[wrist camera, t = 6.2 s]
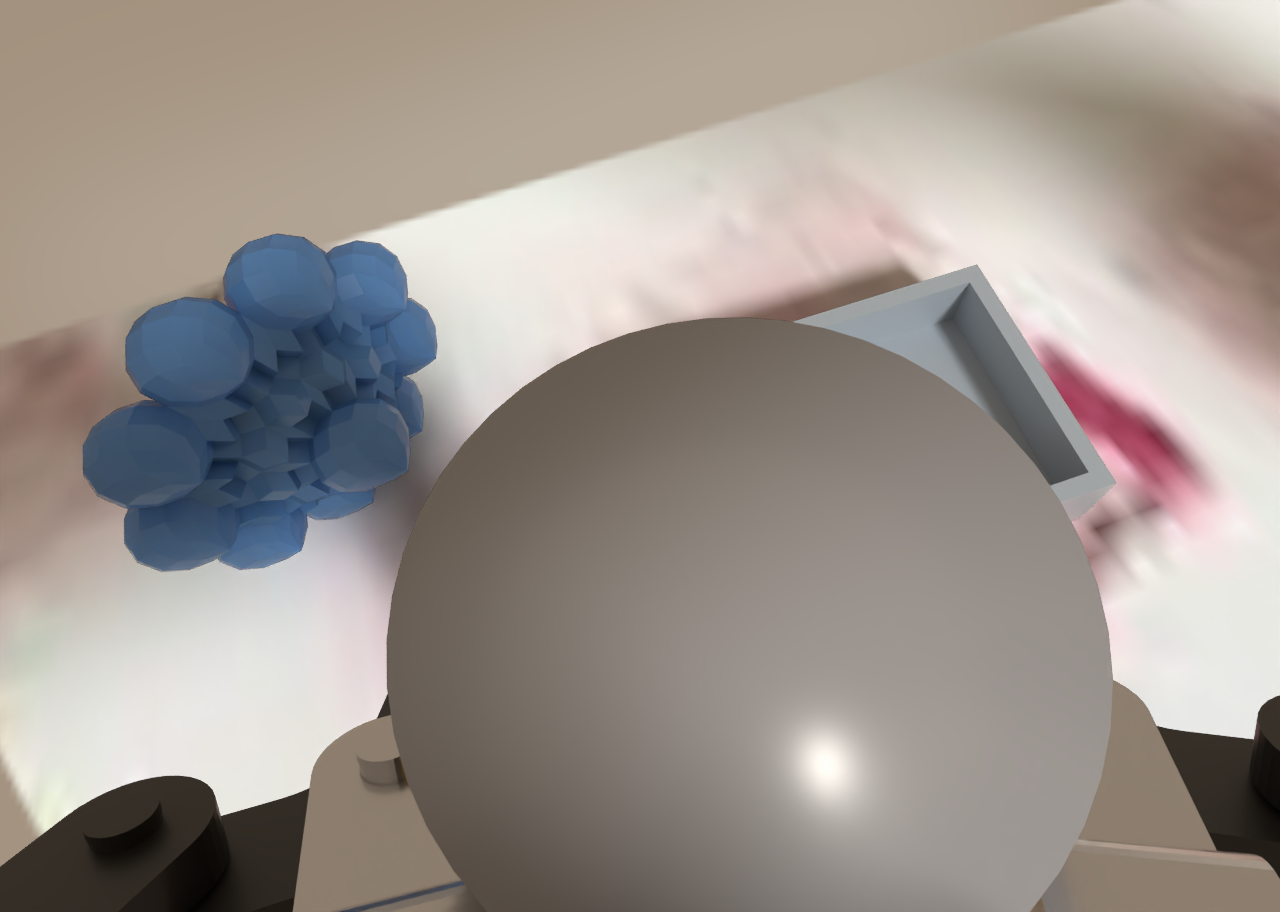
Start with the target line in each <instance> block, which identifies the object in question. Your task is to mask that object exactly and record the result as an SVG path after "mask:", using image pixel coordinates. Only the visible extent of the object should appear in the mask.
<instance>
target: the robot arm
mask: <svg viewBox="0 0 1280 912" xmlns="http://www.w3.org/2000/svg"><path fill="white" fill-rule="evenodd" d="M0 912H487V911H486V910H485V909H484V908H483V906H482V905H481V904H480V903H479V901H478V900H477V899H476V898H475V897H474V895H473V894H472V893H471V892H470V890H469V889H468V888H467V887H466V885H465V884H464V883H463V882H462V881H461V879H460V878H459V877H458V876H457V874H456V873H455V872H454V871H453V869H452V868H451V866H450V864H449V863H448V861H447V859H446V858H445V856H444V854H443V853H442V851H441V849H440V848H439V846H438V844H437V843H436V841H435V840H434V838H433V836H432V835H431V833H430V831H429V830H428V828H427V826H426V824H425V822H424V819H423V817H422V815H421V812H420V810H419V808H418V805H417V803H416V801H415V799H414V796H413V794H412V792H411V789H410V787H409V785H408V782H407V780H406V776H405V773H404V769H403V766H402V762H401V758H400V755H399V751H398V748H397V744H396V740H395V737H394V733H393V726H392V719H391V712H390V705H389V697H388V695H387V697H386V699H385V701H384V704H383V706H382V708H381V710H380V713H379V715H378V717H377V719H375V720H372V721H369V722H366V723H364V724H362V725H360V726H358V727H356V728H354V729H352V730H350V731H348V732H347V733H345V734H343V735H342V736H341V737H339V738H338V739H336V740H335V741H334V742H333V743H331V744H330V745H329V746H328V747H327V748H326V749H325V750H324V751H323V753H322V754H321V755H320V756H319V758H318V759H317V761H316V763H315V765H314V767H313V771H312V775H311V782H310V788H309V789H307V790H304V791H302V792H299V793H297V794H294V795H291V796H288V797H285V798H282V799H279V800H276V801H272V802H269V803H265V804H262V805H258V806H255V807H251V808H248V809H244V810H241V811H237V812H234V813H230V814H227V815H223V816H221V815H220V812H219V808H218V805H217V801H216V797H215V795H214V792H213V790H212V789H211V788H210V787H209V786H208V785H207V784H206V783H204V782H202V781H201V780H198V779H195V778H192V777H186V776H162V777H155V778H149V779H145V780H140V781H137V782H133V783H130V784H127V785H124V786H121V787H119V788H116V789H114V790H111V791H109V792H106V793H104V794H102V795H100V796H98V797H96V798H94V799H92V800H91V801H89V802H87V803H85V804H84V805H82V806H80V807H79V808H77V809H76V810H74V811H73V812H72V813H70V814H69V815H67V816H66V817H65V818H63V819H62V820H61V821H59V822H58V823H57V824H55V825H54V826H53V827H52V828H50V829H49V830H48V831H46V832H45V833H44V834H42V835H41V836H40V837H38V838H37V839H36V840H35V841H33V842H32V843H31V844H29V845H28V846H27V847H25V848H24V849H23V850H22V851H20V852H19V853H18V854H16V855H15V856H14V857H12V858H11V859H10V860H8V861H7V862H6V863H5V864H3V865H2V866H1V867H0ZM1030 912H1280V696H1277V697H1275V698H1272V699H1270V700H1268V701H1267V702H1266V703H1265V704H1264V705H1263V706H1262V707H1261V708H1260V710H1259V712H1258V717H1257V724H1256V730H1255V736H1254V740H1253V739H1245V738H1237V737H1228V736H1220V735H1211V734H1203V733H1194V732H1186V731H1180V730H1173V729H1167V728H1163V727H1159V726H1156V724H1155V722H1154V720H1153V718H1152V716H1151V714H1150V712H1149V710H1148V708H1147V707H1146V705H1145V704H1144V702H1143V701H1142V700H1141V699H1140V698H1139V697H1138V696H1137V695H1136V694H1134V693H1133V692H1132V691H1130V690H1129V689H1128V688H1126V687H1125V686H1123V685H1121V684H1119V683H1118V682H1116V681H1114V680H1113V688H1112V710H1111V729H1110V735H1109V740H1108V745H1107V750H1106V755H1105V761H1104V766H1103V771H1102V776H1101V780H1100V783H1099V785H1098V788H1097V791H1096V794H1095V797H1094V800H1093V803H1092V806H1091V808H1090V811H1089V814H1088V817H1087V820H1086V823H1085V825H1084V827H1083V829H1082V831H1081V833H1080V835H1079V837H1078V839H1077V841H1076V843H1075V844H1074V846H1073V848H1072V850H1071V852H1070V854H1069V856H1068V858H1067V860H1066V861H1065V863H1064V865H1063V867H1062V869H1061V871H1060V872H1059V874H1058V875H1057V876H1056V878H1055V879H1054V880H1053V882H1052V883H1051V884H1050V886H1049V887H1048V888H1047V890H1046V891H1045V892H1044V894H1043V895H1042V896H1041V898H1040V899H1039V900H1038V902H1037V903H1036V904H1035V906H1034V907H1033V908H1032V910H1031V911H1030Z"/></svg>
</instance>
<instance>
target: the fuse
mask: <svg viewBox="0 0 1280 912" xmlns="http://www.w3.org/2000/svg"><path fill="white" fill-rule="evenodd" d="M1112 688H1113V675H1112V664H1111V653H1110V643H1109V632H1108V627H1107V623H1106V619H1105V614H1104V610H1103V606H1102V601H1101V597H1100V593H1099V588H1098V585H1097V582H1096V579H1095V576H1094V574H1093V571H1092V568H1091V566H1090V563H1089V560H1088V558H1087V555H1086V552H1085V549H1084V547H1083V544H1082V542H1081V540H1080V538H1079V536H1078V534H1077V532H1076V530H1075V528H1074V526H1073V524H1072V522H1071V520H1070V518H1069V517H1068V515H1067V513H1066V511H1065V509H1064V507H1063V505H1062V503H1061V501H1060V500H1059V498H1058V497H1057V495H1056V494H1055V493H1054V491H1053V490H1052V488H1051V487H1050V485H1049V484H1048V482H1047V481H1046V479H1045V478H1044V476H1043V475H1042V474H1041V472H1040V471H1039V469H1038V468H1037V466H1036V465H1035V464H1034V462H1033V461H1032V460H1031V459H1030V458H1029V457H1028V456H1027V454H1026V453H1025V452H1024V451H1023V450H1022V449H1021V448H1020V446H1019V445H1018V444H1017V443H1016V442H1015V441H1014V440H1013V438H1012V437H1011V436H1010V435H1009V434H1008V433H1007V432H1006V431H1005V430H1004V429H1003V428H1002V427H1001V426H1000V425H999V424H998V423H996V422H995V421H994V420H993V419H992V418H991V417H990V416H989V415H988V414H987V413H985V412H984V411H983V410H982V409H981V408H980V407H979V406H978V405H977V404H976V403H974V402H973V401H972V400H970V399H969V398H968V397H966V396H965V395H963V394H962V393H961V392H959V391H958V390H956V389H955V388H954V387H952V386H951V385H950V384H948V383H947V382H945V381H944V380H943V379H941V378H940V377H938V376H936V375H935V374H933V373H931V372H929V371H928V370H926V369H924V368H922V367H920V366H919V365H917V364H915V363H913V362H912V361H910V360H908V359H906V358H904V357H903V356H900V355H898V354H896V353H893V352H891V351H889V350H886V349H884V348H882V347H879V346H877V345H875V344H872V343H870V342H868V341H865V340H862V339H859V338H856V337H852V336H849V335H846V334H843V333H839V332H836V331H833V330H829V329H826V328H821V327H816V326H811V325H805V324H800V323H795V322H790V321H783V320H770V319H758V318H710V319H699V320H692V321H685V322H677V323H670V324H665V325H661V326H657V327H653V328H649V329H645V330H641V331H637V332H633V333H629V334H626V335H623V336H621V337H618V338H615V339H612V340H610V341H607V342H604V343H602V344H599V345H596V346H594V347H591V348H589V349H587V350H585V351H583V352H581V353H579V354H577V355H575V356H573V357H571V358H569V359H567V360H565V361H564V362H562V363H560V364H558V365H556V366H554V367H553V368H551V369H550V370H548V371H547V372H545V373H544V374H542V375H541V376H539V377H538V378H536V379H535V380H533V381H532V382H530V383H528V384H527V385H525V386H524V387H522V388H521V389H520V390H519V391H518V392H517V393H515V394H514V395H513V396H512V397H511V398H509V399H508V400H507V401H506V402H505V403H504V404H502V405H501V406H500V407H499V408H498V409H496V410H495V411H494V412H493V413H492V414H491V415H490V416H489V417H488V418H487V419H486V420H485V421H484V422H483V423H482V424H481V426H480V427H479V428H478V429H477V430H476V431H475V432H474V433H473V434H472V435H471V436H470V437H469V438H468V439H467V441H466V442H465V443H464V444H463V445H462V447H461V448H460V449H459V451H458V452H457V453H456V455H455V456H454V458H453V459H452V460H451V462H450V463H449V464H448V466H447V467H446V469H445V470H444V471H443V473H442V474H441V475H440V477H439V479H438V481H437V482H436V484H435V486H434V488H433V490H432V491H431V493H430V495H429V497H428V499H427V500H426V502H425V504H424V506H423V508H422V509H421V511H420V513H419V515H418V518H417V520H416V523H415V525H414V528H413V530H412V533H411V535H410V538H409V540H408V543H407V545H406V548H405V550H404V553H403V556H402V560H401V564H400V568H399V572H398V576H397V579H396V583H395V587H394V591H393V595H392V602H391V610H390V618H389V626H388V634H387V690H388V697H389V705H390V712H391V719H392V726H393V733H394V737H395V740H396V744H397V748H398V751H399V755H400V758H401V762H402V766H403V769H404V773H405V776H406V780H407V782H408V785H409V787H410V789H411V792H412V794H413V796H414V799H415V801H416V803H417V805H418V808H419V810H420V812H421V815H422V817H423V819H424V822H425V824H426V826H427V828H428V830H429V831H430V833H431V835H432V836H433V838H434V840H435V841H436V843H437V844H438V846H439V848H440V849H441V851H442V853H443V854H444V856H445V858H446V859H447V861H448V863H449V864H450V866H451V868H452V869H453V871H454V872H455V873H456V874H457V876H458V877H459V878H460V879H461V881H462V882H463V883H464V884H465V885H466V887H467V888H468V889H469V890H470V892H471V893H472V894H473V895H474V897H475V898H476V899H477V900H478V901H479V903H480V904H481V905H482V906H483V908H484V909H485V910H486V911H487V912H1030V911H1031V910H1032V908H1033V907H1034V906H1035V904H1036V903H1037V902H1038V900H1039V899H1040V898H1041V896H1042V895H1043V894H1044V892H1045V891H1046V890H1047V888H1048V887H1049V886H1050V884H1051V883H1052V882H1053V880H1054V879H1055V878H1056V876H1057V875H1058V874H1059V872H1060V871H1061V869H1062V867H1063V865H1064V863H1065V861H1066V860H1067V858H1068V856H1069V854H1070V852H1071V850H1072V848H1073V846H1074V844H1075V843H1076V841H1077V839H1078V837H1079V835H1080V833H1081V831H1082V829H1083V827H1084V825H1085V823H1086V820H1087V817H1088V814H1089V811H1090V808H1091V806H1092V803H1093V800H1094V797H1095V794H1096V791H1097V788H1098V785H1099V783H1100V780H1101V776H1102V771H1103V766H1104V761H1105V755H1106V750H1107V745H1108V740H1109V735H1110V729H1111V710H1112Z"/></svg>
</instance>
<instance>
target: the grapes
mask: <svg viewBox="0 0 1280 912" xmlns="http://www.w3.org/2000/svg"><path fill="white" fill-rule="evenodd" d="M223 281H224V300H225V302H226V303H227V305H228V306H226V305H224V304H223V303H221V302H219V301H218V300H215V299H203V298H191V297H184V298H181V299H178V300H174V301H171V302H168V303H165V304H162V305H158V306H156V307H153V308H151V309H149V310H148V311H147V312H146V313H145V314H143V315H142V316H141V317H140V318H139V319H137V320H136V321H135V322H134V324H133V326H132V328H131V330H130V332H129V334H128V335H127V337H126V344H125V357H126V371H127V373H128V375H129V376H130V378H131V379H132V381H133V382H134V384H135V385H136V387H137V389H138V390H139V392H140V393H141V394H143V395H145V396H147V397H149V398H151V399H153V400H143V401H140V402H137V403H134V404H131V405H128V406H125V407H122V408H119V409H116V410H115V411H113V412H112V413H110V414H109V415H107V416H106V417H105V418H104V419H102V420H101V421H100V422H99V423H97V424H96V425H95V426H93V427H92V429H91V431H90V433H89V435H88V437H87V439H86V441H85V443H84V445H83V476H84V477H85V479H86V480H87V481H88V483H89V484H90V486H91V487H92V489H93V490H94V492H95V493H96V494H97V496H98V497H99V498H101V499H104V500H106V501H109V502H111V503H114V504H116V505H118V506H121V507H123V508H129V509H128V511H127V513H126V516H125V518H124V544H125V545H126V547H127V548H128V550H129V551H130V553H131V554H132V556H133V557H134V558H135V560H136V561H137V563H139V564H142V565H145V566H147V567H150V568H153V569H155V570H158V571H161V572H167V571H180V570H190V569H193V568H196V567H198V566H201V565H204V564H206V563H209V562H212V561H214V560H215V559H217V558H218V560H219V561H220V562H222V563H224V564H227V565H229V566H232V567H234V568H237V569H239V570H243V569H256V568H265V567H267V566H270V565H272V564H275V563H278V562H280V561H283V560H285V559H288V558H290V557H291V556H293V555H295V554H296V553H298V552H300V551H301V550H302V547H303V544H304V540H305V536H306V532H307V528H308V522H307V516H309V517H311V518H313V519H315V520H326V519H338V518H341V517H343V516H346V515H349V514H351V513H354V512H356V511H359V510H360V509H362V508H364V507H365V506H367V505H369V504H370V503H372V502H373V499H374V493H375V487H378V486H381V485H383V484H386V483H388V482H390V481H392V480H394V479H395V478H397V477H398V476H400V475H402V474H403V473H405V472H407V471H408V466H409V458H410V440H409V438H411V437H413V436H414V435H416V434H417V433H419V432H421V431H422V426H423V418H424V413H423V402H422V396H421V394H420V392H419V390H418V388H417V386H416V384H415V382H414V381H413V380H411V379H410V378H408V377H407V375H410V374H413V373H416V372H418V371H419V370H421V369H422V368H424V367H425V366H427V365H428V364H430V363H431V362H432V361H433V360H434V359H436V352H437V339H436V329H435V325H434V323H433V321H432V318H431V316H430V314H429V312H428V310H427V309H426V308H424V307H423V306H422V305H420V304H419V303H417V302H416V301H415V300H413V299H412V298H407V297H408V288H407V278H406V274H405V272H404V270H403V268H402V266H401V264H400V262H399V260H398V258H397V256H396V255H394V254H393V253H392V252H390V251H389V250H388V249H386V248H385V247H383V246H382V245H381V244H379V243H372V242H365V241H353V242H350V243H347V244H344V245H341V246H337V247H335V248H333V249H332V250H330V251H329V252H328V253H325V251H323V250H322V249H320V248H319V247H317V246H316V245H314V244H313V243H312V242H310V241H309V240H307V239H305V238H304V237H299V236H291V235H283V234H273V235H270V236H267V237H264V238H260V239H257V240H254V241H250V242H248V243H246V244H245V245H244V246H243V247H242V248H240V249H239V250H238V251H237V252H235V253H234V254H233V255H232V257H231V260H230V262H229V264H228V266H227V269H226V271H225V274H224V277H223Z"/></svg>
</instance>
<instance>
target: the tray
mask: <svg viewBox="0 0 1280 912" xmlns="http://www.w3.org/2000/svg"><path fill="white" fill-rule="evenodd" d="M793 322H795V323H800V324H805V325H811V326H816V327H821V328H826V329H829V330H833V331H836V332H839V333H843V334H846V335H849V336H852V337H856V338H859V339H862V340H865V341H868V342H870V343H872V344H875V345H877V346H879V347H882V348H884V349H886V350H889V351H891V352H893V353H896V354H898V355H900V356H903V357H904V358H906V359H908V360H910V361H912V362H913V363H915V364H917V365H919V366H920V367H922V368H924V369H926V370H928V371H929V372H931V373H933V374H935V375H936V376H938V377H940V378H941V379H943V380H944V381H945V382H947V383H948V384H950V385H951V386H952V387H954V388H955V389H956V390H958V391H959V392H961V393H962V394H963V395H965V396H966V397H968V398H969V399H970V400H972V401H973V402H974V403H976V404H977V405H978V406H979V407H980V408H981V409H982V410H983V411H984V412H985V413H987V414H988V415H989V416H990V417H991V418H992V419H993V420H994V421H995V422H996V423H998V424H999V425H1000V426H1001V427H1002V428H1003V429H1004V430H1005V431H1006V432H1007V433H1008V434H1009V435H1010V436H1011V437H1012V438H1013V440H1014V441H1015V442H1016V443H1017V444H1018V445H1019V446H1020V448H1021V449H1022V450H1023V451H1024V452H1025V453H1026V454H1027V456H1028V457H1029V458H1030V459H1031V460H1032V461H1033V462H1034V464H1035V465H1036V466H1037V468H1038V469H1039V471H1040V472H1041V474H1042V475H1043V476H1044V478H1045V479H1046V481H1047V482H1048V484H1049V485H1050V487H1051V488H1052V490H1053V491H1054V493H1055V494H1056V495H1057V497H1058V498H1059V500H1060V501H1061V503H1062V505H1063V507H1064V509H1065V511H1066V513H1067V515H1068V517H1069V518H1070V520H1071V521H1073V520H1076V519H1079V518H1081V517H1082V516H1083V515H1084V514H1085V513H1086V512H1087V511H1088V510H1089V509H1090V508H1091V507H1092V506H1094V505H1095V504H1096V503H1097V502H1098V501H1099V500H1100V499H1101V498H1102V497H1103V496H1104V495H1105V494H1106V493H1107V492H1108V491H1109V490H1110V489H1111V488H1112V487H1113V486H1114V485H1115V484H1116V481H1115V480H1114V478H1113V477H1112V475H1111V473H1110V472H1109V470H1108V469H1107V467H1106V466H1105V464H1104V462H1103V461H1102V459H1101V458H1100V456H1099V455H1098V453H1097V452H1096V450H1095V448H1094V447H1093V445H1092V444H1091V442H1090V441H1089V439H1088V437H1087V436H1086V434H1085V433H1084V431H1083V430H1082V428H1081V426H1080V425H1079V423H1078V422H1077V420H1076V419H1075V417H1074V416H1073V414H1072V412H1071V411H1070V409H1069V408H1068V406H1067V405H1066V403H1065V401H1064V400H1063V398H1062V397H1061V395H1060V394H1059V392H1058V390H1057V389H1056V387H1055V386H1054V384H1053V383H1052V381H1051V379H1050V378H1049V376H1048V375H1047V373H1046V372H1045V370H1044V369H1043V367H1042V365H1041V364H1040V362H1039V361H1038V359H1037V358H1036V356H1035V354H1034V353H1033V351H1032V350H1031V348H1030V347H1029V345H1028V343H1027V342H1026V340H1025V339H1024V337H1023V336H1022V334H1021V333H1020V331H1019V329H1018V328H1017V326H1016V325H1015V323H1014V322H1013V320H1012V318H1011V317H1010V315H1009V314H1008V312H1007V311H1006V309H1005V307H1004V306H1003V304H1002V303H1001V301H1000V300H999V298H998V297H997V295H996V293H995V292H994V290H993V289H992V287H991V286H990V284H989V282H988V281H987V279H986V278H985V276H984V275H983V273H982V271H981V270H980V268H979V267H978V265H974V266H971V267H967V268H964V269H961V270H958V271H954V272H951V273H948V274H945V275H942V276H938V277H935V278H932V279H929V280H925V281H922V282H919V283H916V284H912V285H909V286H906V287H903V288H900V289H896V290H893V291H890V292H887V293H883V294H880V295H877V296H874V297H871V298H867V299H864V300H861V301H858V302H854V303H851V304H848V305H845V306H841V307H838V308H835V309H832V310H829V311H825V312H822V313H819V314H816V315H812V316H809V317H806V318H803V319H799V320H796V321H793Z"/></svg>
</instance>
